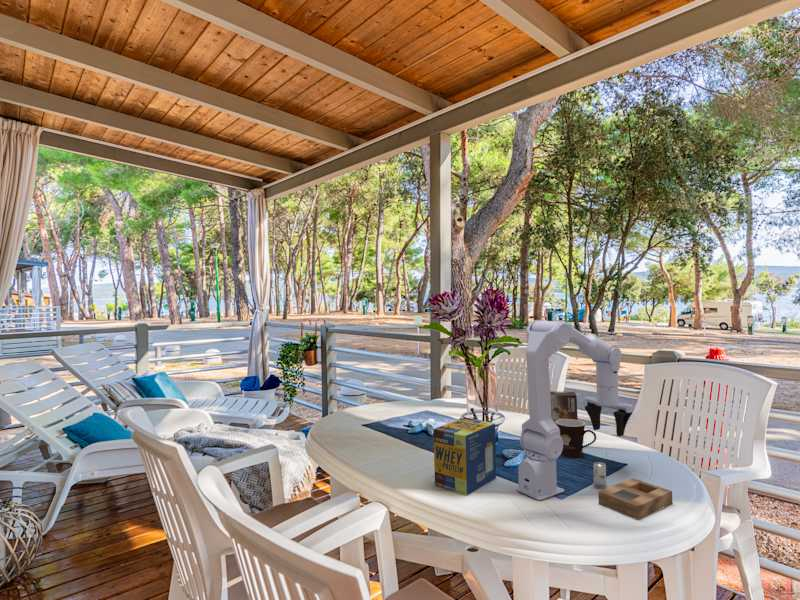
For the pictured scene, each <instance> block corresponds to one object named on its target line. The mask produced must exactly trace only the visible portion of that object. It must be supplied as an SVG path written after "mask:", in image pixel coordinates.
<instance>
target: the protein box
mask: <svg viewBox="0 0 800 600" xmlns="http://www.w3.org/2000/svg"><path fill="white" fill-rule="evenodd" d="M496 445H497V443H496V423H495V422H489V421H485V420H480V419H475V418H470V417H462V418H459V419H457V420H454V421H451V422H447V423H446V424H444V425H441V426H439V427H438V426H437V427H435V428H433V456H434V457H433V461H434V462H433V463H434V464H433V465H434V467H433V468H434V469H433V470H434V486H435V485H436V486H435V487H439V488H442V489H445V490H449V491H451V492H454V493H458V494H460V495H464V496H468V495H470V494H471V493H474V492H475V491H476V490H478V489H480V488H481V487H484V486H485V485H486V484H489V483H490V482H492V481H493V480H495V479H496V478H497V453H496V452H497V451H496Z"/></svg>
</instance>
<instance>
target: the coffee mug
mask: <svg viewBox="0 0 800 600" xmlns="http://www.w3.org/2000/svg"><path fill="white" fill-rule="evenodd" d="M556 425H557V426H558V427H559V429H560V436H561V438H562V441H563V450H562V453H561V454H560V456H562V457H564V458H567V459H568V458H569V459H570V458H571V459H577V458H581V457H582V455H583V449H585V448H587V447H589V446H591V445H593V444H594V443H595V442H596V440H597V434H596V432H594V430H590V429H585V426H586V423H585V422H584V421H582V420H579V419H578V420H573V419H561V420H557V421H556ZM586 433H591V434H592V435H593V440H592V441H591V442H590V443H589V442H588V443H587V444H584V437H585V434H586Z"/></svg>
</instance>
